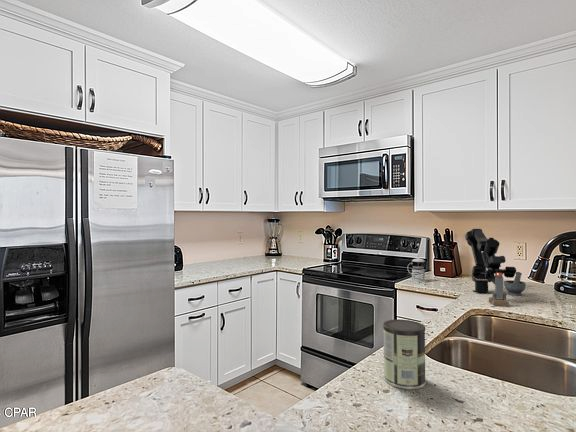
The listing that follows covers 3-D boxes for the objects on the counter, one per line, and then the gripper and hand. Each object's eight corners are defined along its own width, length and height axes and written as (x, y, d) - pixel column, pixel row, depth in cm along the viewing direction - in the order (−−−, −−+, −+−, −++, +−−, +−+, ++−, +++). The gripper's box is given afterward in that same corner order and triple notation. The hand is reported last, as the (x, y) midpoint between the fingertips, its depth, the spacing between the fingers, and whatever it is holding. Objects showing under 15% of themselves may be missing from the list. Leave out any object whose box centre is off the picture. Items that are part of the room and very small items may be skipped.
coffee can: (408, 369, 96) (408, 317, 96) (434, 386, 86) (434, 328, 86) (375, 374, 93) (375, 320, 93) (398, 392, 83) (398, 332, 83)
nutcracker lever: (494, 297, 167) (494, 272, 168) (501, 297, 167) (501, 272, 167) (496, 298, 165) (496, 273, 165) (503, 298, 164) (503, 273, 164)
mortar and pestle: (520, 297, 181) (520, 274, 182) (501, 294, 189) (500, 272, 189) (529, 294, 188) (529, 272, 188) (510, 291, 195) (510, 270, 196)
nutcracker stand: (488, 302, 172) (488, 290, 172) (502, 302, 170) (502, 291, 170) (494, 306, 164) (493, 294, 164) (508, 306, 163) (508, 294, 163)
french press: (425, 283, 221) (425, 244, 221) (406, 282, 226) (406, 243, 226) (427, 281, 230) (426, 243, 230) (408, 279, 235) (408, 242, 235)
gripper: (472, 249, 176) (479, 274, 165) (514, 250, 171) (524, 276, 160) (469, 263, 183) (475, 288, 172) (509, 264, 179) (517, 290, 168)
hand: (497, 285), depth 168 cm, fingers closed
